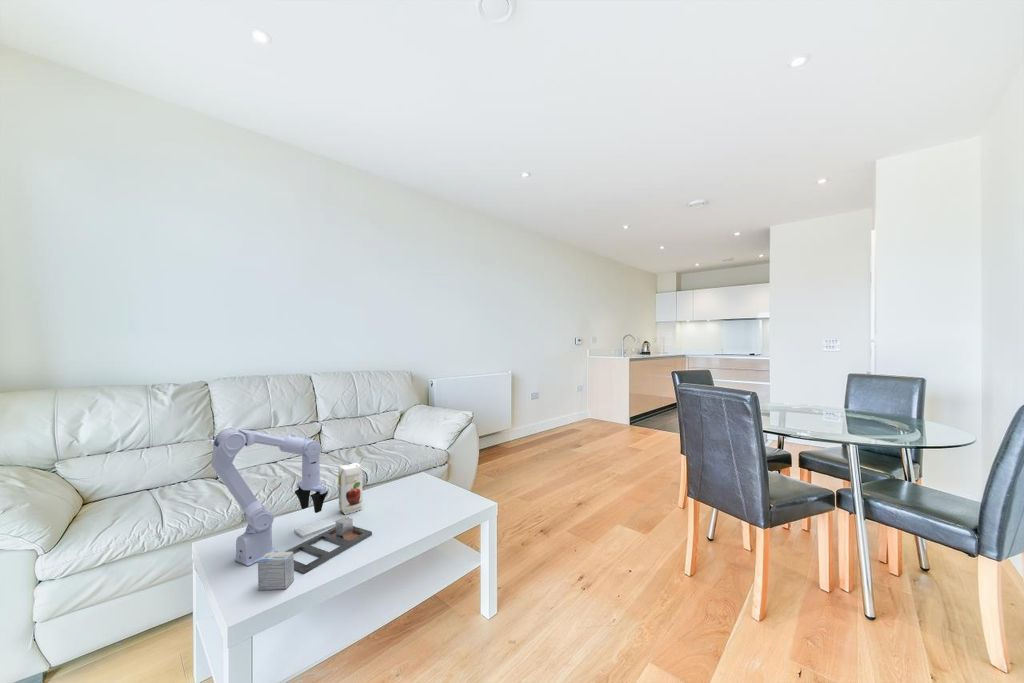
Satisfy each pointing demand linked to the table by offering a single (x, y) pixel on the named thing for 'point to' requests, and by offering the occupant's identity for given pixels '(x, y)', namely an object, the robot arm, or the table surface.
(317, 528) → the hard drive
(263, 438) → the robot arm
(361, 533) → the grey window frame
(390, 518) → the table surface
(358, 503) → the juice carton
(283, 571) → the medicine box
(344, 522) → the grey metal block
